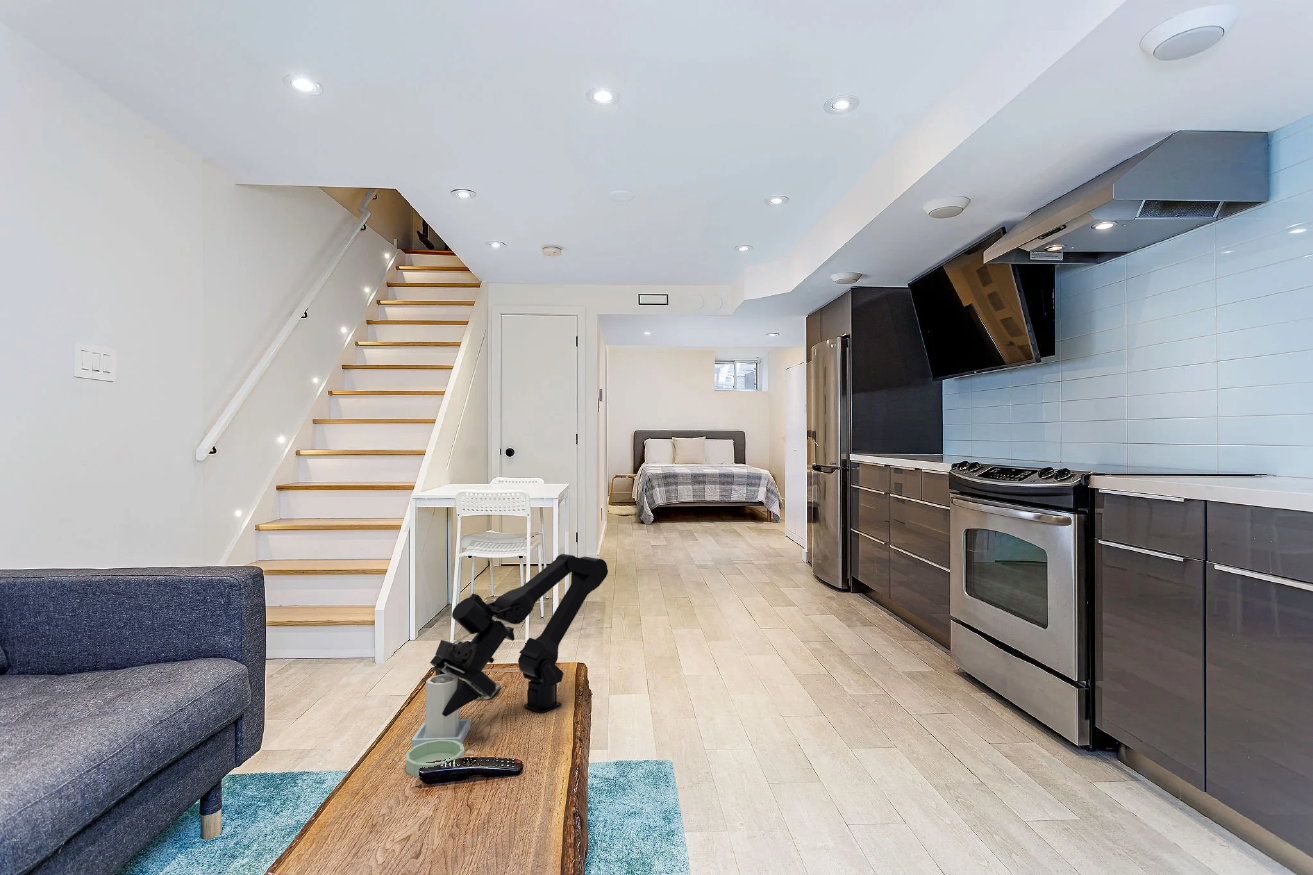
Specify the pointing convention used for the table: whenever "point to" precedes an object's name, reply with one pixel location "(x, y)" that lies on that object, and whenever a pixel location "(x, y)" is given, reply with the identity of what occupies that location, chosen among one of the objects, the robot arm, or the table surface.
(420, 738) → the parts tray
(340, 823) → the table surface
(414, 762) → the bowl
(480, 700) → the mineral specimen
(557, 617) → the robot arm
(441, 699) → the pebble cup
